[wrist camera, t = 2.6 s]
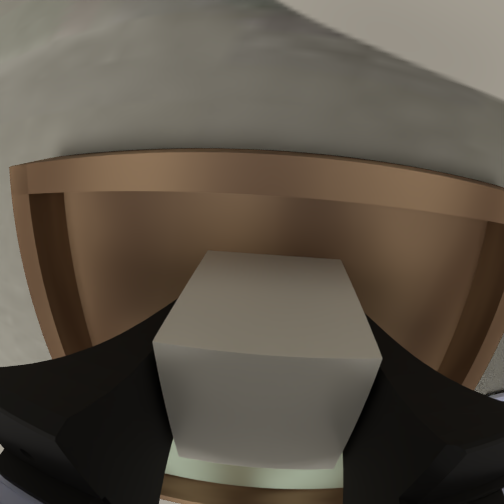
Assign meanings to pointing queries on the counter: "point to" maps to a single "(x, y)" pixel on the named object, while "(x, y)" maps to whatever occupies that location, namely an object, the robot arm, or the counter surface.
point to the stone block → (266, 361)
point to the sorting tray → (261, 242)
